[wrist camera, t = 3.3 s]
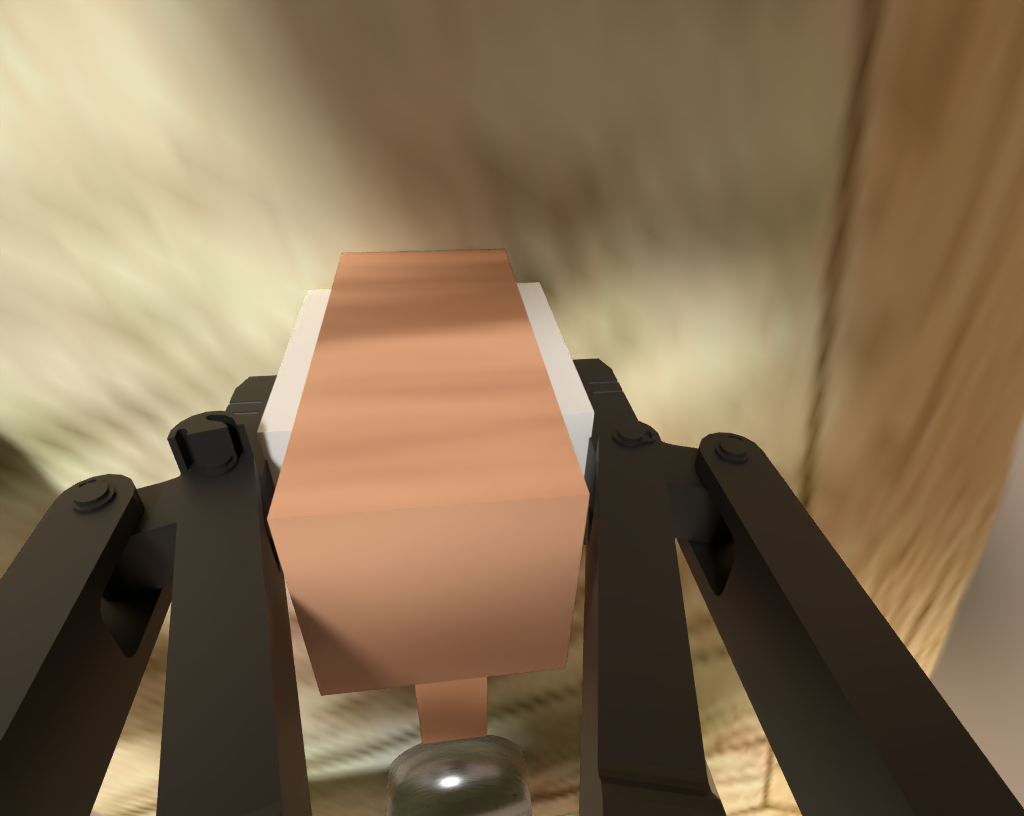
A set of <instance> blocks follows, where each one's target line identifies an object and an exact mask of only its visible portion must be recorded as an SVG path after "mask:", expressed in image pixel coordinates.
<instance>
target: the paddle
mask: <svg viewBox="0 0 1024 816" xmlns="http://www.w3.org/2000/svg"><path fill="white" fill-rule="evenodd" d="M589 495H590V494H589V491H588V488H587V485H586V482H585V480H584V477H583V474H582V471H581V468H580V465H579V462H578V459H577V456H576V454H575V451H574V448H573V445H572V442H571V439H570V436H569V433H568V430H567V427H566V425H565V422H564V419H563V416H562V413H561V410H560V407H559V404H558V401H557V399H556V396H555V393H554V390H553V387H552V384H551V381H550V378H549V375H548V373H547V370H546V367H545V364H544V361H543V358H542V355H541V352H540V349H539V347H538V344H537V341H536V338H535V335H534V332H533V329H532V326H531V323H530V321H529V318H528V315H527V312H526V309H525V306H524V303H523V300H522V297H521V294H520V292H519V289H518V286H517V283H516V280H515V277H514V274H513V271H512V268H511V266H510V263H509V260H508V257H507V254H506V251H505V249H493V250H451V251H409V252H367V253H341V257H340V261H339V264H338V268H337V271H336V275H335V278H334V282H333V286H332V289H331V293H330V296H329V300H328V303H327V307H326V311H325V314H324V318H323V321H322V325H321V328H320V332H319V336H318V339H317V343H316V346H315V350H314V353H313V357H312V360H311V364H310V368H309V371H308V375H307V378H306V382H305V385H304V389H303V393H302V396H301V400H300V403H299V407H298V410H297V414H296V418H295V421H294V425H293V428H292V432H291V435H290V439H289V443H288V446H287V450H286V453H285V457H284V460H283V464H282V467H281V471H280V475H279V478H278V482H277V485H276V489H275V492H274V496H273V500H272V503H271V507H270V510H269V514H268V517H267V521H268V524H269V527H270V531H271V534H272V537H273V540H274V544H275V547H276V550H277V554H278V557H279V560H280V563H281V567H282V570H283V573H284V576H285V580H286V583H287V586H288V589H289V593H290V596H291V599H292V603H293V606H294V609H295V612H296V616H297V619H298V622H299V625H300V629H301V632H302V635H303V638H304V642H305V645H306V648H307V651H308V655H309V658H310V661H311V665H312V668H313V671H314V674H315V678H316V681H317V684H318V687H319V691H320V694H321V696H323V695H332V694H341V693H349V692H358V691H367V690H376V689H385V688H393V687H402V686H411V685H415V691H416V699H417V706H418V714H419V722H420V729H421V737H422V744H426V743H434V742H442V741H450V740H458V739H466V738H473V737H481V736H487V677H490V676H499V675H508V674H517V673H525V672H534V671H543V670H552V669H561V668H566V662H567V655H568V647H569V640H570V633H571V626H572V618H573V611H574V604H575V597H576V589H577V582H578V575H579V568H580V561H581V553H582V546H583V539H584V532H585V524H586V517H587V510H588V503H589Z"/></svg>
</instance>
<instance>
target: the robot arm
mask: <svg viewBox="0 0 1024 816" xmlns="http://www.w3.org/2000/svg"><path fill="white" fill-rule="evenodd" d="M517 286H518V289H519V292H520V294H521V297H522V300H523V303H524V306H525V309H526V312H527V315H528V318H529V321H530V323H531V326H532V329H533V332H534V335H535V338H536V341H537V344H538V347H539V349H540V352H541V355H542V358H543V361H544V364H545V367H546V370H547V373H548V375H549V378H550V381H551V384H552V387H553V390H554V393H555V396H556V399H557V401H558V404H559V407H560V410H561V413H562V416H563V419H564V422H565V425H566V427H567V430H568V433H569V436H570V439H571V442H572V445H573V448H574V451H575V454H576V456H577V459H578V462H579V465H580V468H581V471H582V474H583V477H584V480H585V482H586V485H587V488H588V491H589V494H590V495H589V503H588V504H589V507H588V515H587V522H586V529H585V536H584V545H586V565H585V604H584V643H583V682H582V721H581V761H580V800H579V816H726V813H725V811H724V808H723V805H722V803H721V800H720V799H719V798H718V797H717V796H716V795H715V794H714V793H713V792H712V791H711V788H710V785H709V782H708V776H707V770H706V763H705V756H704V749H703V741H702V734H701V727H700V720H699V712H698V705H697V698H696V690H695V683H694V676H693V669H692V661H691V654H690V647H689V640H688V632H687V625H686V618H685V610H684V603H683V596H682V589H681V581H680V574H679V567H678V560H677V552H676V545H675V538H677V541H678V543H679V545H680V548H681V550H682V552H683V554H684V556H685V559H686V561H687V563H688V565H689V567H690V570H691V572H692V574H693V576H694V578H695V581H696V583H697V585H698V587H699V589H700V592H701V594H702V596H703V598H704V600H705V603H706V605H707V607H708V609H709V611H710V614H711V616H712V618H713V620H714V622H715V625H716V627H717V629H718V631H719V633H720V636H721V638H722V640H723V642H724V644H725V647H726V649H727V651H728V653H729V655H730V657H731V660H732V662H733V664H734V666H735V668H736V671H737V673H738V675H739V677H740V679H741V682H742V684H743V686H744V688H745V690H746V693H747V695H748V697H749V699H750V701H751V704H752V706H753V708H754V710H755V712H756V715H757V717H758V719H759V721H760V723H761V726H762V728H763V730H764V732H765V734H766V737H767V739H768V741H769V743H770V745H771V748H772V750H773V752H774V754H775V756H776V759H777V761H778V763H779V765H780V767H781V770H782V772H783V774H784V776H785V778H786V781H787V783H788V785H789V787H790V789H791V792H792V794H793V796H794V798H795V800H796V803H797V805H798V807H799V809H800V811H801V814H802V816H1024V809H1023V807H1022V806H1021V804H1020V803H1019V802H1018V800H1017V799H1016V798H1015V796H1014V795H1013V793H1012V792H1011V791H1010V789H1009V788H1008V787H1007V785H1006V784H1005V782H1004V781H1003V780H1002V778H1001V777H1000V776H999V774H998V773H997V772H996V770H995V769H994V767H993V766H992V765H991V763H990V762H989V761H988V759H987V758H986V756H985V755H984V754H983V752H982V751H981V750H980V748H979V747H978V745H977V744H976V743H975V741H974V740H973V739H972V737H971V736H970V734H969V733H968V732H967V730H966V729H965V728H964V726H963V725H962V724H961V722H960V721H959V720H958V718H957V717H956V715H955V714H954V713H953V711H952V710H951V708H950V707H949V706H948V704H947V703H946V702H945V700H944V699H943V697H942V696H941V695H940V693H939V692H938V691H937V690H936V688H935V686H934V685H933V684H932V682H931V681H930V680H929V678H928V677H927V675H926V674H925V673H924V671H923V670H922V669H921V667H920V666H919V664H918V663H917V662H916V660H915V659H914V658H913V656H912V655H911V654H910V652H909V651H908V649H907V648H906V647H905V645H904V644H903V643H902V641H901V640H900V638H899V637H898V636H897V634H896V633H895V632H894V630H893V629H892V627H891V626H890V625H889V623H888V622H887V621H886V619H885V618H884V616H883V615H882V614H881V612H880V611H879V610H878V608H877V607H876V606H875V604H874V603H873V601H872V600H871V599H870V597H869V596H868V595H867V593H866V592H865V590H864V589H863V588H862V586H861V585H860V584H859V582H858V581H857V579H856V578H855V577H854V575H853V574H852V573H851V571H850V570H849V568H848V567H847V566H846V564H845V563H844V562H843V560H842V559H841V558H840V556H839V555H838V553H837V552H836V551H835V549H834V548H833V547H832V545H831V544H830V542H829V541H828V540H827V538H826V537H825V536H824V534H823V533H822V531H821V530H820V529H819V527H818V526H817V525H816V523H815V522H814V520H813V519H812V518H811V516H810V515H809V514H808V512H807V511H806V510H805V508H804V507H803V505H802V504H801V503H800V501H799V500H798V499H797V497H796V496H795V494H794V493H793V492H792V490H791V489H790V488H789V486H788V485H787V483H786V482H785V481H784V479H783V478H782V477H781V475H780V474H779V472H778V471H777V470H776V468H775V467H774V466H773V464H772V463H771V461H770V460H769V459H768V457H767V456H766V455H765V453H764V452H763V451H762V449H761V448H760V447H758V446H757V445H756V444H755V443H754V442H752V441H751V440H749V439H747V438H745V437H743V436H739V435H736V434H732V433H721V432H719V433H714V434H709V435H707V436H706V437H704V438H703V439H702V440H701V443H700V445H699V449H697V448H690V447H684V446H677V445H672V444H668V443H665V442H662V441H661V439H660V437H659V434H658V432H656V431H655V430H654V429H653V428H652V427H651V426H649V425H647V424H645V423H642V422H640V421H638V419H637V417H636V415H635V413H634V411H633V409H632V408H631V406H630V404H629V402H628V400H627V398H626V396H625V394H624V392H622V388H621V386H620V384H619V382H617V379H616V377H615V375H614V373H613V371H612V369H611V368H610V367H609V366H607V365H606V364H605V363H603V362H602V361H601V360H600V359H579V360H572V358H571V356H570V354H569V351H568V349H567V346H566V344H565V342H564V339H563V337H562V335H561V332H560V330H559V327H558V325H557V323H556V320H555V318H554V316H553V313H552V311H551V309H550V306H549V304H548V301H547V299H546V297H545V294H544V292H543V290H542V287H541V285H540V283H539V282H538V283H517ZM330 293H331V289H313V290H308V291H307V294H306V297H305V299H304V302H303V305H302V308H301V311H300V313H299V316H298V319H297V322H296V325H295V327H294V330H293V333H292V336H291V339H290V341H289V344H288V347H287V350H286V352H285V355H284V358H283V361H282V364H281V366H280V369H279V372H278V375H275V376H255V377H249V378H248V379H246V380H245V381H244V382H243V383H242V384H241V385H239V386H238V387H237V388H236V389H235V391H234V393H233V396H232V398H231V400H230V405H228V407H227V409H226V411H211V412H204V413H201V414H197V415H194V416H191V417H189V418H187V419H185V420H183V421H182V422H180V423H179V424H177V425H176V426H175V427H174V428H173V429H172V430H171V431H170V434H169V436H168V438H167V440H168V442H169V444H170V447H171V449H172V452H173V454H174V457H175V459H176V462H177V464H178V467H179V469H180V472H181V475H180V476H179V477H177V478H174V479H171V480H168V481H165V482H162V483H158V484H154V485H151V486H147V487H143V488H139V489H136V487H135V485H134V483H133V482H132V480H131V479H130V478H128V477H126V476H123V475H116V474H107V475H101V476H96V477H92V478H89V479H87V480H84V481H81V482H79V483H77V484H75V485H73V486H72V487H70V488H69V489H67V490H65V491H64V492H63V493H62V494H61V495H60V496H59V497H58V498H57V499H56V500H55V501H54V502H53V504H52V505H51V507H50V508H49V510H48V511H47V513H46V514H45V516H44V517H43V518H42V520H41V521H40V523H39V524H38V526H37V527H36V529H35V530H34V532H33V533H32V535H31V536H30V537H29V539H28V540H27V542H26V543H25V545H24V546H23V548H22V549H21V551H20V552H19V554H18V555H17V557H16V558H15V559H14V561H13V562H12V564H11V565H10V567H9V568H8V570H7V571H6V573H5V574H4V576H3V577H2V578H1V580H0V816H90V813H91V811H92V808H93V805H94V803H95V800H96V798H97V795H98V792H99V790H100V787H101V784H102V782H103V779H104V777H105V774H106V771H107V769H108V766H109V763H110V761H111V758H112V756H113V753H114V750H115V748H116V745H117V742H118V740H119V737H120V734H121V732H122V729H123V727H124V724H125V721H126V719H127V716H128V713H129V711H130V708H131V706H132V703H133V700H134V698H135V695H136V692H137V690H138V687H139V685H140V682H141V679H142V677H143V674H144V671H145V669H146V666H147V664H148V661H149V658H150V656H151V653H152V650H153V648H154V645H155V643H156V640H157V637H158V635H159V632H160V629H161V627H162V624H163V621H164V619H165V616H166V614H167V611H168V608H169V606H170V603H171V615H170V629H169V643H168V657H167V671H166V685H165V699H164V713H163V727H162V741H161V756H160V770H159V784H158V798H157V812H156V816H312V812H311V804H310V795H309V787H308V778H307V769H306V761H305V752H304V743H303V735H302V726H301V718H300V709H299V700H298V692H297V683H296V675H295V666H294V657H293V649H292V640H291V632H290V623H289V614H288V606H287V597H286V588H285V580H284V573H283V570H282V567H281V563H280V560H279V557H278V554H277V550H276V547H275V544H274V540H273V537H272V534H271V531H270V527H269V524H268V521H267V517H268V514H269V510H270V507H271V503H272V500H273V496H274V492H275V489H276V485H277V482H278V478H279V475H280V471H281V467H282V464H283V460H284V457H285V453H286V450H287V446H288V443H289V439H290V435H291V432H292V428H293V425H294V421H295V418H296V414H297V410H298V407H299V403H300V400H301V396H302V393H303V389H304V385H305V382H306V378H307V375H308V371H309V368H310V364H311V360H312V357H313V353H314V350H315V346H316V343H317V339H318V336H319V332H320V328H321V325H322V321H323V318H324V314H325V311H326V307H327V303H328V300H329V296H330ZM171 600H172V601H171Z"/></svg>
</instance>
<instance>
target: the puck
mask: <svg viewBox="0 0 1024 816" xmlns="http://www.w3.org/2000/svg"><path fill="white" fill-rule="evenodd" d="M386 816H532V805H531V798H530V791H529V784H528V777H527V770H526V762H525V756H524V753H523V751H522V749H521V748H520V747H519V746H518V745H517V744H515V743H514V742H512V741H510V740H508V739H505V738H502V737H498V736H494V735H487V736H481V737H473V738H466V739H458V740H450V741H442V742H434V743H426V744H422V743H421V744H418V745H416V746H414V747H412V748H410V749H408V750H407V751H405V752H403V753H402V754H401V755H399V756H398V757H397V758H396V759H395V760H394V761H393V762H392V764H391V765H390V767H389V770H388V777H387V805H386Z"/></svg>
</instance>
